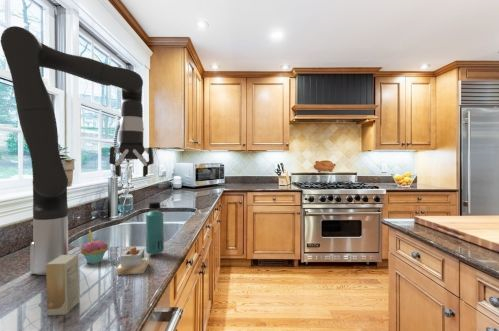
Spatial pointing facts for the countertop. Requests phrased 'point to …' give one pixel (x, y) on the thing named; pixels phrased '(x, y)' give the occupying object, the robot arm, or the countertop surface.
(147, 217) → the beverage bottle
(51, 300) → the skincare box
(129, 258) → the link
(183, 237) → the countertop surface
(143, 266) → the keeper
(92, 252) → the cupcake
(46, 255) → the robot arm
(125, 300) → the countertop surface
